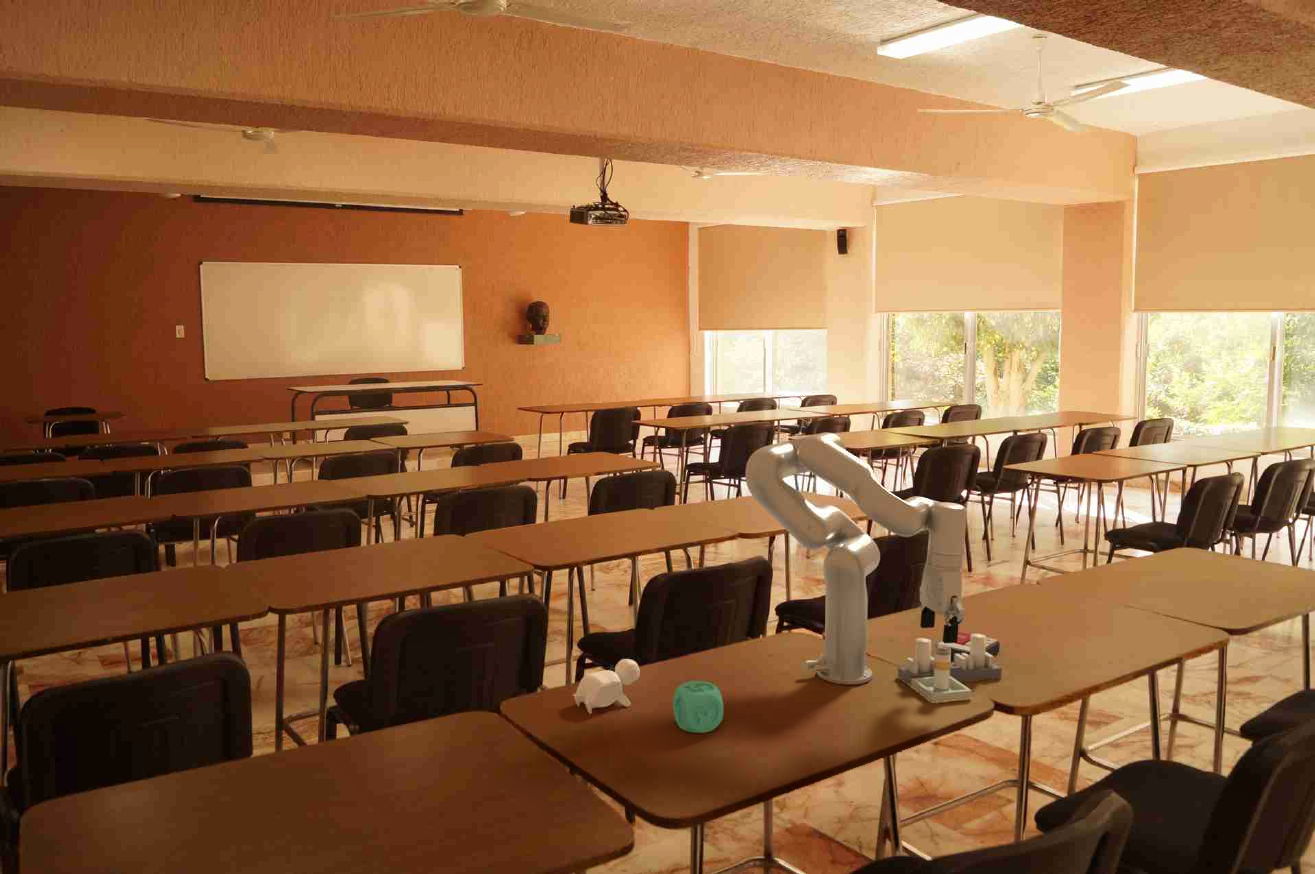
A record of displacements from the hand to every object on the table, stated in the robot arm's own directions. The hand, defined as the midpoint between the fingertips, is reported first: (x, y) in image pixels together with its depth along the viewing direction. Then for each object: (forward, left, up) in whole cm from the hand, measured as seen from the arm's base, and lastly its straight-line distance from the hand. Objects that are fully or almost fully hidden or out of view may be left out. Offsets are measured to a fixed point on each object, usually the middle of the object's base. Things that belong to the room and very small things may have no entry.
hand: (938, 634), depth 215 cm
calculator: (+20, +21, -14) cm, 32 cm away
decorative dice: (-56, -4, -14) cm, 58 cm away
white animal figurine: (-72, +11, -14) cm, 74 cm away
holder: (+8, +8, -13) cm, 17 cm away
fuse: (+1, -1, -13) cm, 13 cm away
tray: (+1, -1, -13) cm, 13 cm away
